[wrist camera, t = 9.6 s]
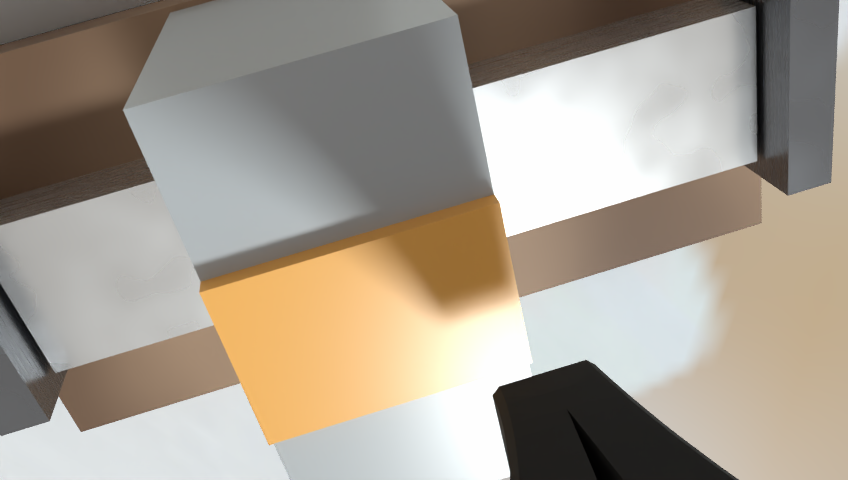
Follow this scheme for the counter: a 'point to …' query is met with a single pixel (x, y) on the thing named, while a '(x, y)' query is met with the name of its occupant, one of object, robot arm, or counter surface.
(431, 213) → the block
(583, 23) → the mounting plate
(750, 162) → the din rail
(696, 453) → the robot arm
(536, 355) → the counter surface
